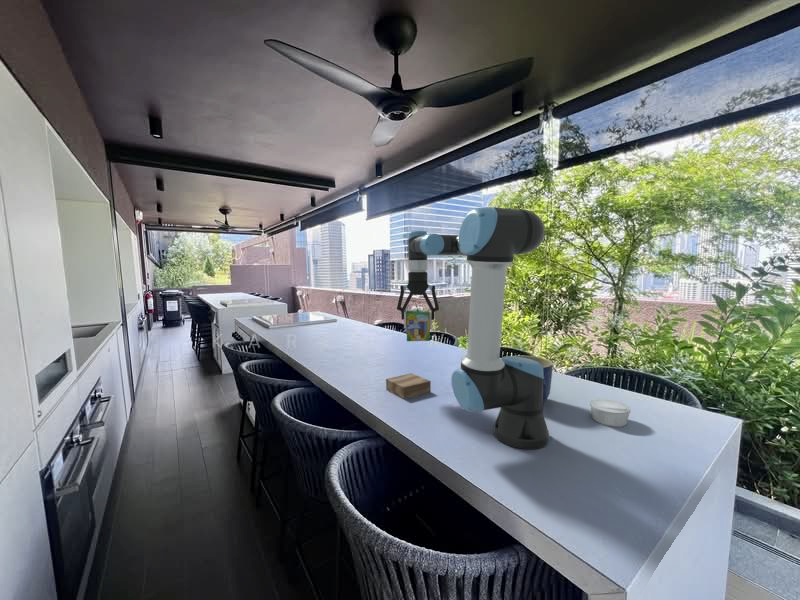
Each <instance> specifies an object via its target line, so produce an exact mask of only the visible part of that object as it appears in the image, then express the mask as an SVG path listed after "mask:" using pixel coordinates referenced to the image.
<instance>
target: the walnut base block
mask: <svg viewBox="0 0 800 600" xmlns="http://www.w3.org/2000/svg"><path fill="white" fill-rule="evenodd" d="M385 387H386V388H385V389H386V391H387V390H388V392H389V391H390V392H389V393H391V394H393V395H395V396H397V397H399V398H401V399H403V400H406V399H411V398H414V397H419V396H422V395H426V394H429V393H431V380H429V379H427V378H425V377H421V376H419V375H416V374H414V373H407V374H404V375H398V376H393V377H389V378H386V379H385Z"/></svg>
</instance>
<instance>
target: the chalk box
mask: <svg viewBox="0 0 800 600" xmlns="http://www.w3.org/2000/svg"><path fill="white" fill-rule="evenodd" d="M414 303H415V308H416V309H407V310H406V311H407V313H406V318H407V328H406V342H430V341H431V329H430V309H420V308H418V304H417V303H416V301H415V302H414Z"/></svg>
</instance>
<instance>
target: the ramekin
mask: <svg viewBox="0 0 800 600" xmlns="http://www.w3.org/2000/svg"><path fill="white" fill-rule="evenodd" d="M589 406H590V410H591V411H590V412H591V417H592V419H593V420H594V421H595V422H597V423H598V424H600V425H603V426H607V427H613V428H614V427H615V428H620V427H624V426H626V425H627V424H628V420H629V416H630V413H631V408H630V406H628V405H627V404H625V403H623V402H621V401H618V400H614V399H607V398H594V399H592V400H591V401H590V402H589Z"/></svg>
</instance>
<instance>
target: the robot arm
mask: <svg viewBox="0 0 800 600" xmlns="http://www.w3.org/2000/svg"><path fill="white" fill-rule="evenodd" d="M545 230H546V228H545V224H544V222H543V220H542V218H541V217H540V216H539V215H538V214H536V213H535V212H533V211H531V210H527V209H523V208H521V209H520V208H518V209H516V208H507V207H506V208H504V207H495V206H494V207H492V206H488V207H476V208H473V209H472V210H470V211H469V212H468V213H467V214H466V215H465V216H464V218H463V220H462V222H461V225H460V228H459V232H458V234H439V233H428V232H427V231H425V230H413V231H409V232H408V235H407V253H408V254H407V255H408V256H407V259H408V260H407V269H408V271H409V272H408V273H407V274H408V275H407V278H408V280H407V281H408V282H407V285H404V284H403V285H400V286H399V287H400V293H399V299H398V302H397V305H396V306H397V307H396V310H398V311H400V312H401V317H400V318H401V320H404V321H403V328H404V329H407V318H406V313H407V310H406V309H407V307H408V305H409V303H410V302H411V299H412V298H413V296H423V298H424V300H425V302H426V304H427V306H428V307H429V312H430V330H431V329H432V327H433V326H432V325H433V324H432V323H433V321H434V320H435V312H437V311H439V309H440V306H439V302H438V299H437V297H438V296H437V294H436V293H437V292H436V285H430V284H429V283H428V256H429V257H431V256H463V257H465V256H466V262H467V263H468V264H469V265H470V267H471V280H470V297H469V298H470V299H469V300H470V301H469V313H468V314H469V315H468V318H469V319H468V330H467V331H468V332H467V333H468V335H467V348H466V349H467V350H466V354H465V355H464V356H463V357H461V359H460V368H457V369H455V370H454V371H453V372H452V373H451V388H452V392H453V395H454V397H455V399H456V401H457V403H458V405H459V406H460V407H461V408H462V409H463V410H464V411H466V412H469V413H473V412H474V413H475V412H480V413H481V412H483V411H488V410H493V409H499V412H498V414H497V418H496V420H495V423H494V426H493V427H494V428H493V433H494V436H495V438H496V439H497V440H498V441H500V442H501V443H502V444H505V445H507V446H510V447H513V448H516V449H517V448H518V449H523V450H537V449H540V448H541V449H542V448H544V447H546V446H547V445H548V444H549V441H550V433H549V429H548V426H547V422H546V420H545V416H544V409H543V408H544V402H543V388H544V376H543V366H542V365H541V364H540V363H539V362H537V361H534V360H531V359H527V358H521V357H513V356H514V355H512V356H511V355H507V356H506V355H505V356H503V357H500V356H501V355H500V354H501V343H502V328H503V316H504V315H503V314H504V302H505V301H504V300H505V290H506V289H505V288H506V278H507V277H506V276H507V269H508V268H509V267H510V266H511V265H512V264H514V257H515V256H514V255H526V254H529V253H531V252H533V251H535V250H536V249H537V248H539V247H540V245H541V244H542V242H543V240H544V238H545ZM406 290H409V294H408V295H407V298H406V300H405V302H404V303H403V299H404V296H405V291H406ZM427 290H429V291H431V295H432V298H433V303H434V304H432V302H431V300H430V297H429V296H428V294H427ZM402 304H403V306H402ZM433 305H434V306H433Z"/></svg>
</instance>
